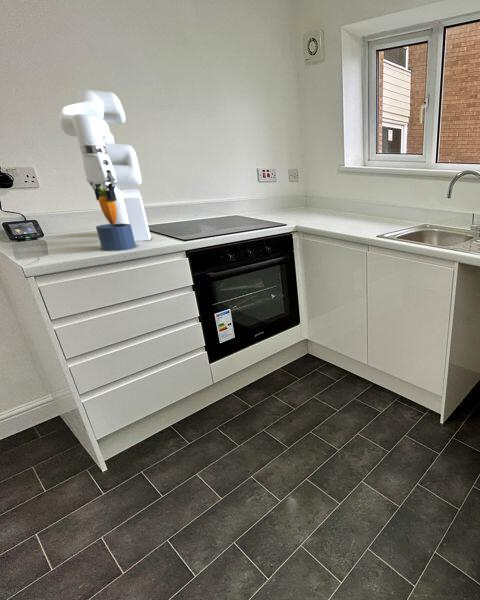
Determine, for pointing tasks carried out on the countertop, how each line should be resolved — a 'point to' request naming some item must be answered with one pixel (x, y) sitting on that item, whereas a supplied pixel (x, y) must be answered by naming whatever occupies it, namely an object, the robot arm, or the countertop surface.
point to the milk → (136, 215)
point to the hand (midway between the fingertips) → (106, 200)
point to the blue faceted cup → (116, 236)
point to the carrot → (108, 207)
